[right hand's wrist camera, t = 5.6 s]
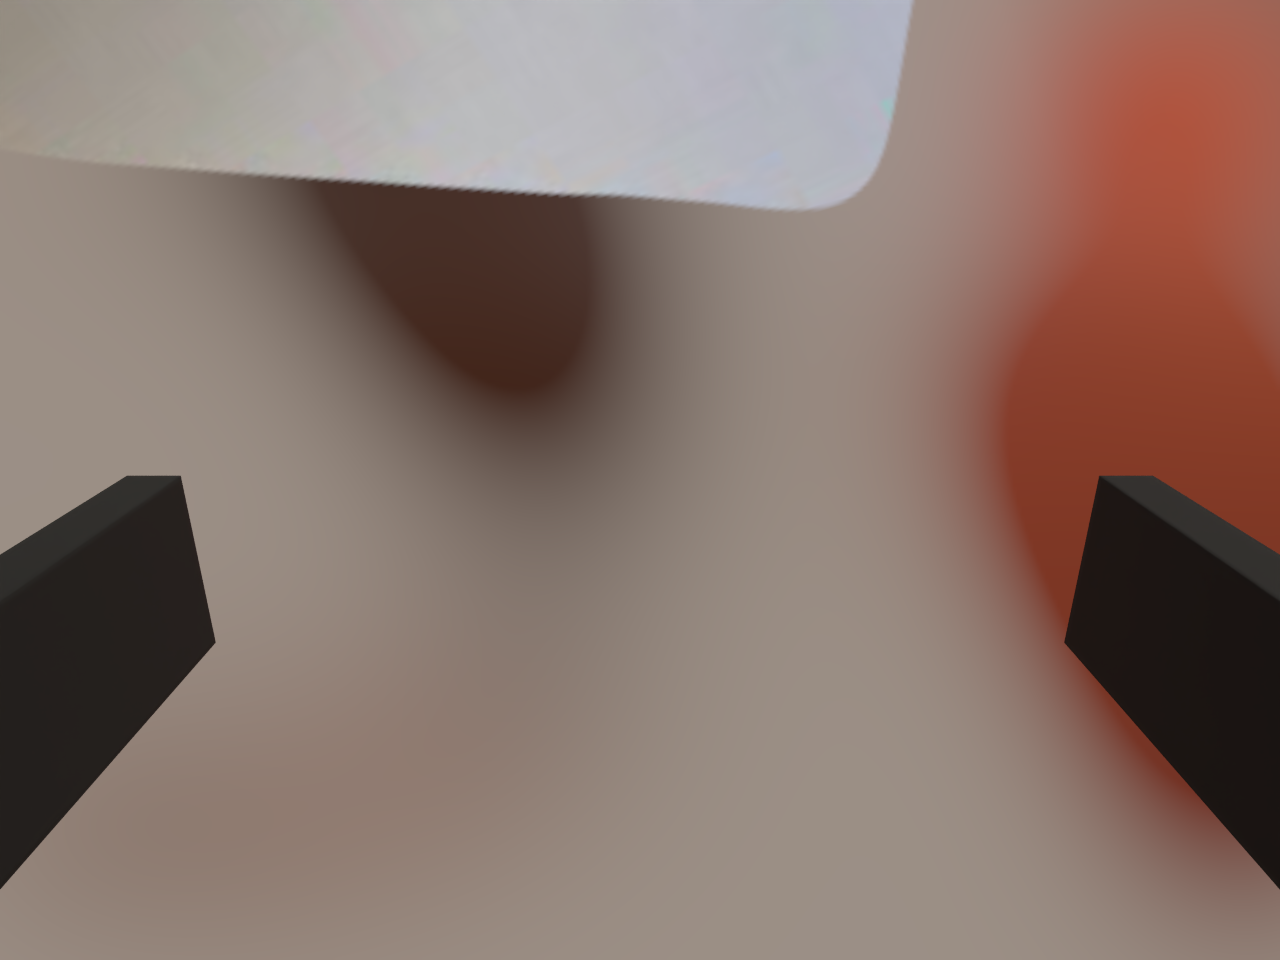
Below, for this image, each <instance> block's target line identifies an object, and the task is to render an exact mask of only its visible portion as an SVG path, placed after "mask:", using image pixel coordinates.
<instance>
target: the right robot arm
mask: <svg viewBox="0 0 1280 960" xmlns="http://www.w3.org/2000/svg"><path fill="white" fill-rule="evenodd" d="M214 644H215V637H214V632H213V628H212V623H211V618H210V613H209V609H208V604H207V599H206V594H205V590H204V585H203V580H202V575H201V571H200V566H199V561H198V556H197V551H196V547H195V542H194V537H193V532H192V528H191V523H190V518H189V513H188V509H187V504H186V499H185V494H184V489H183V485H182V480H181V476H126V477H124V478H123V479H121V480H120V481H118V482H116V483H115V484H113V485H111V486H110V487H108V488H107V489H105V490H104V491H102V492H100V493H99V494H97V495H95V496H94V497H92V498H91V499H89V500H87V501H86V502H84V503H83V504H81V505H79V506H78V507H76V508H75V509H73V510H71V511H70V512H68V513H66V514H65V515H63V516H62V517H60V518H59V519H57V520H55V521H54V522H52V523H50V524H49V525H47V526H46V527H44V528H43V529H41V530H39V531H38V532H36V533H34V534H33V535H31V536H30V537H28V538H26V539H25V540H23V541H22V542H20V543H18V544H17V545H15V546H14V547H12V548H10V549H9V550H7V551H6V552H4V553H2V554H1V555H0V889H1V888H2V887H3V886H4V884H5V883H6V882H7V881H8V880H9V879H10V877H11V876H12V875H13V874H14V873H15V872H16V871H17V869H18V868H19V867H20V866H21V865H22V864H23V862H24V861H25V860H26V859H27V858H28V857H29V856H30V855H31V853H32V852H33V851H34V850H35V849H36V848H37V847H38V845H39V844H40V843H41V842H42V841H43V840H44V838H45V837H46V836H47V835H48V834H49V833H50V832H51V830H52V829H53V828H54V827H55V826H56V825H57V824H58V822H59V821H60V820H61V819H62V818H63V817H64V816H65V814H66V813H67V812H68V811H69V810H70V809H71V808H72V806H73V805H74V804H75V803H76V802H77V801H78V800H79V798H80V797H81V796H82V795H83V794H84V793H85V792H86V790H87V789H88V788H89V787H90V786H91V785H92V784H93V782H94V781H95V780H96V779H97V778H98V777H99V776H100V774H101V773H102V772H103V771H104V770H105V769H106V768H107V766H108V765H109V764H110V763H111V762H112V761H113V759H114V758H115V757H116V756H117V755H118V754H119V753H120V751H121V750H122V749H123V748H124V747H125V746H126V745H127V743H128V742H129V741H130V740H131V739H132V738H133V737H134V735H135V734H136V733H137V732H138V731H139V730H140V729H141V727H142V726H143V725H144V724H145V723H146V722H147V720H148V719H149V718H150V717H151V716H152V715H153V714H154V713H155V711H156V710H157V709H158V708H159V707H160V706H161V705H162V703H163V702H164V701H165V700H166V699H167V698H168V697H169V695H170V694H171V693H172V692H173V691H174V690H175V688H176V687H177V686H178V685H179V684H180V683H181V682H182V680H183V679H184V678H185V677H186V676H187V675H188V674H189V672H190V671H191V670H192V669H193V668H194V667H195V665H196V664H197V663H198V662H199V661H200V660H201V659H202V657H203V656H204V655H205V654H206V653H207V652H208V651H209V649H210V648H211V647H212V646H213V645H214ZM1065 644H1066V645H1067V646H1068V647H1069V648H1070V650H1071V651H1072V652H1073V653H1074V654H1075V655H1076V656H1077V658H1078V659H1079V660H1080V661H1081V662H1082V663H1083V664H1084V666H1085V667H1086V668H1087V669H1088V670H1089V671H1090V672H1091V674H1092V675H1093V676H1094V677H1095V678H1096V679H1097V680H1098V682H1099V683H1100V684H1101V685H1102V686H1103V687H1104V688H1105V690H1106V691H1107V692H1108V693H1109V694H1110V695H1111V697H1112V698H1113V699H1114V700H1115V701H1116V702H1117V703H1118V704H1119V706H1120V707H1121V708H1122V709H1123V710H1124V711H1125V713H1126V714H1127V715H1128V716H1129V717H1130V718H1131V719H1132V721H1133V722H1134V723H1135V724H1136V725H1137V726H1138V727H1139V729H1140V730H1141V731H1142V732H1143V733H1144V734H1145V735H1146V737H1147V738H1148V739H1149V740H1150V741H1151V742H1152V743H1153V745H1154V746H1155V747H1156V748H1157V749H1158V750H1159V751H1160V753H1161V754H1162V755H1163V756H1164V757H1165V758H1166V760H1167V761H1168V762H1169V763H1170V764H1171V765H1172V766H1173V767H1174V769H1175V770H1176V771H1177V772H1178V773H1179V774H1180V776H1181V777H1182V778H1183V779H1184V780H1185V781H1186V782H1187V783H1188V785H1189V786H1190V787H1191V788H1192V789H1193V790H1194V792H1195V793H1196V794H1197V795H1198V796H1199V797H1200V798H1201V800H1202V801H1203V802H1204V803H1205V804H1206V805H1207V806H1208V808H1209V809H1210V810H1211V811H1212V812H1213V813H1214V814H1215V816H1216V817H1217V818H1218V819H1219V820H1220V821H1221V823H1222V824H1223V825H1224V826H1225V827H1226V828H1227V829H1228V830H1229V832H1230V833H1231V834H1232V835H1233V836H1234V837H1235V839H1236V840H1237V841H1238V842H1239V843H1240V844H1241V845H1242V847H1243V848H1244V849H1245V850H1246V851H1247V852H1248V853H1249V855H1250V856H1251V857H1252V858H1253V859H1254V860H1255V861H1256V863H1257V864H1258V865H1259V866H1260V867H1261V868H1262V869H1263V871H1264V872H1265V873H1266V874H1267V875H1268V876H1269V877H1270V879H1271V880H1272V881H1273V882H1274V883H1275V884H1276V886H1277V887H1278V888H1279V889H1280V555H1279V554H1278V553H1276V552H1275V551H1273V550H1271V549H1270V548H1268V547H1267V546H1265V545H1263V544H1262V543H1260V542H1258V541H1257V540H1255V539H1254V538H1252V537H1250V536H1249V535H1247V534H1246V533H1244V532H1242V531H1241V530H1239V529H1238V528H1236V527H1234V526H1233V525H1231V524H1230V523H1228V522H1226V521H1225V520H1223V519H1222V518H1220V517H1218V516H1217V515H1215V514H1214V513H1212V512H1210V511H1209V510H1207V509H1205V508H1204V507H1202V506H1201V505H1199V504H1197V503H1196V502H1194V501H1193V500H1191V499H1189V498H1188V497H1186V496H1185V495H1183V494H1181V493H1180V492H1178V491H1177V490H1175V489H1173V488H1172V487H1170V486H1169V485H1167V484H1165V483H1164V482H1162V481H1160V480H1159V479H1157V478H1156V477H1154V476H1099V480H1098V485H1097V490H1096V494H1095V499H1094V504H1093V508H1092V513H1091V518H1090V523H1089V528H1088V532H1087V537H1086V542H1085V547H1084V551H1083V556H1082V561H1081V566H1080V570H1079V575H1078V580H1077V585H1076V590H1075V594H1074V599H1073V604H1072V608H1071V613H1070V618H1069V623H1068V628H1067V632H1066V637H1065Z"/></svg>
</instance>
